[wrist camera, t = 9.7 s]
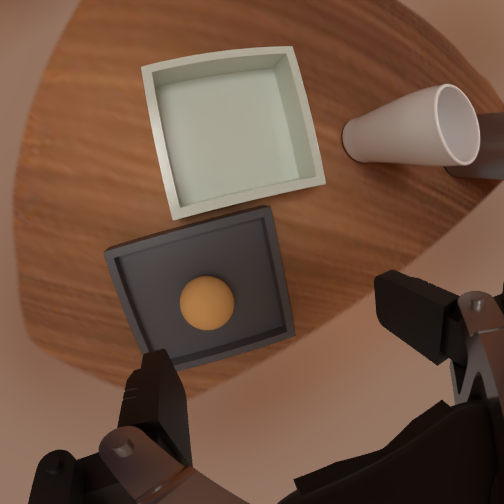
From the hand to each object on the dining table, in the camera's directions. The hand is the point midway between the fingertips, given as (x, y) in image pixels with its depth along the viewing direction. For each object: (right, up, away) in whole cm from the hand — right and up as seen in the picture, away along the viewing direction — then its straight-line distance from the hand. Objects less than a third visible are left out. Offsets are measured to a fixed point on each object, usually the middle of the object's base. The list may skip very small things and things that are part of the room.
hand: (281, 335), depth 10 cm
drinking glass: (+11, +16, +21) cm, 28 cm away
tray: (-6, -1, +20) cm, 21 cm away
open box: (-3, +15, +17) cm, 23 cm away
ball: (-6, -1, +19) cm, 20 cm away
